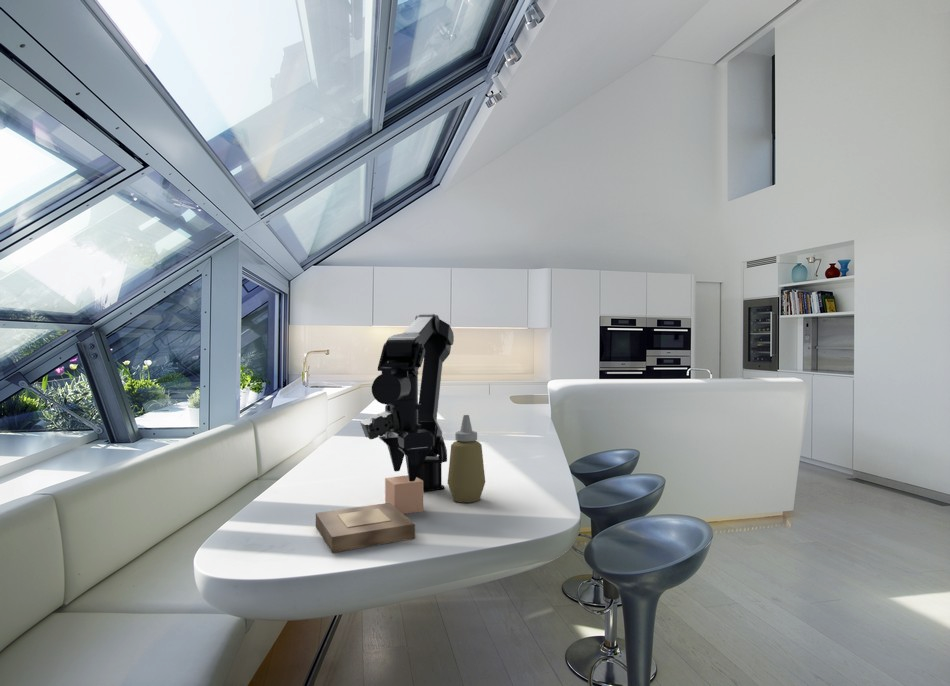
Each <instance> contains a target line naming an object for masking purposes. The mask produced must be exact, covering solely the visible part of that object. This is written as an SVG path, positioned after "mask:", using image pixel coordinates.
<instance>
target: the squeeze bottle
mask: <svg viewBox="0 0 950 686" xmlns="http://www.w3.org/2000/svg"><path fill="white" fill-rule="evenodd" d="M454 437H455V438H454V439H455V441H454V442H453V443H452V444H451V445H450V455H449V462H448V463H449V465H448V474H447V485H448V489H449V491H450V495H451V497H452V500H453V501H455V502H459V503H465V502H466V503H474V502H478V501H480V499H481V498H482V494H483V491H484V488H485V484H486V476H485V466H484V457H483V455H484V454H483V448H482V443H480V441H477V440H478V432H477V431H474V430H473V427H472V423H471V419H470V415H469V414H463V416H462V420H461V426H460V431H455V436H454Z"/></svg>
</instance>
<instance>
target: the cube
mask: <svg viewBox="0 0 950 686" xmlns="http://www.w3.org/2000/svg"><path fill="white" fill-rule="evenodd" d="M384 486H385V487H384V489H385V490H384V494H385V497H384V501H385V503H391V504H392V505H393V506H394V507H395V508H397V509H398V510H399V511H400V512H401V513H403V514H404V515H405V514H412V513H417V512H418V513H419V512H424V491H423V481H422V480H421V479H419V478H417V477H416V479H415V481H409V477H408V474H407V475H401V476H400V475H398V476H392V477H385V478H384Z"/></svg>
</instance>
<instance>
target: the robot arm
mask: <svg viewBox="0 0 950 686" xmlns="http://www.w3.org/2000/svg"><path fill="white" fill-rule="evenodd" d="M452 329H453V328H452V327H451V325H450V324H449V323H447V322H446V321H443V320H442V319H440V317H439V315H438V314H434V313H422V314H421V313H419V314H417V315H416V316H415V318H414V321H412V323H411V324H410V325H409V327H407V329H406V330H404V331H403V332H402V333H397V334H393V335H390V336H388V338H387V339H386V340H385V343H384V344H383V346H382V350H381V354H380V358H379V361H378V366H377V372H381V374H379V375H378V376H377V377H376V378H374V379H373V382H372V385H371V394H372V396H373V398H374V399H375V401H376V402H378V403H380V404H382V405H384V406H385V407H384V408H385V409H384V411H383V412H380V413H377V414H375V415H373V416H370V417H367V418H366V419H363V420H361V421H360V426H361V429H362V431H363V433H364V437H365V438H368V439H369V440H374V439H376V438H379V440H380V441H382V442H383V443H384V444H385V445H386V447H387V450H388V452H389V453H388V454H389V457H390V460H391V464H392V467H393V471H394V472H400V471H401V467H402V465H403V461H404V457H405V462H406V470H407V475H408V477H409V481H415V479H416V477H417V478H419V479H421V480H422V481H423V492H427V491H435V490H441V489H442V490H443V489H445V485H443V483H442V478H443V477H442V474H443V473H442V464H443V463H447V462H448V450H447V447H446V443H445V440H444V437H443V431H442V428H441V427H440V425H439V423H438V420H437V419H438V408H439V398H440V391H441V389H440V388H441V382H442V381H441V380H442V371H443V364H444V362H445V361H446V359H448V357H449V355H450V354H451V348H452V346H453V345H454V337H455V336H454V331H453V330H452ZM421 367H422V371H421V379H420V386H419V379H418V377H419V376H418V375H419V369H420V368H421ZM418 387H420V389H419V388H418Z"/></svg>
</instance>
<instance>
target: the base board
mask: <svg viewBox="0 0 950 686" xmlns="http://www.w3.org/2000/svg"><path fill="white" fill-rule="evenodd" d="M315 529H317V532H318V533H319V534H320V536H321V538H322V540H324V542H325V544H326V545H327V547H328V548H329V550H330V552H331V554H332V553H340V552H345V551H349V550H350V551H351V550H356V549H357V550H358V549H361V548H367V547H373V545H374V546H378V544H380V545H385V544H384V543H386V544H391V543H395V542H402V541H407V540H414V539H416V525H415V522H413V521H412V520H411V519H410V518H409V517H408V516H407V515H405V514H403V513H401V512H400V511H399V510H398V509H397V508H395V507H394V506H393V505H392V504H391V503H378V504H370V505H363V506H356V507H348V508H343V509H342V508H341V509H333V510H327V511H321V512H315ZM390 542H391V543H390Z"/></svg>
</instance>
